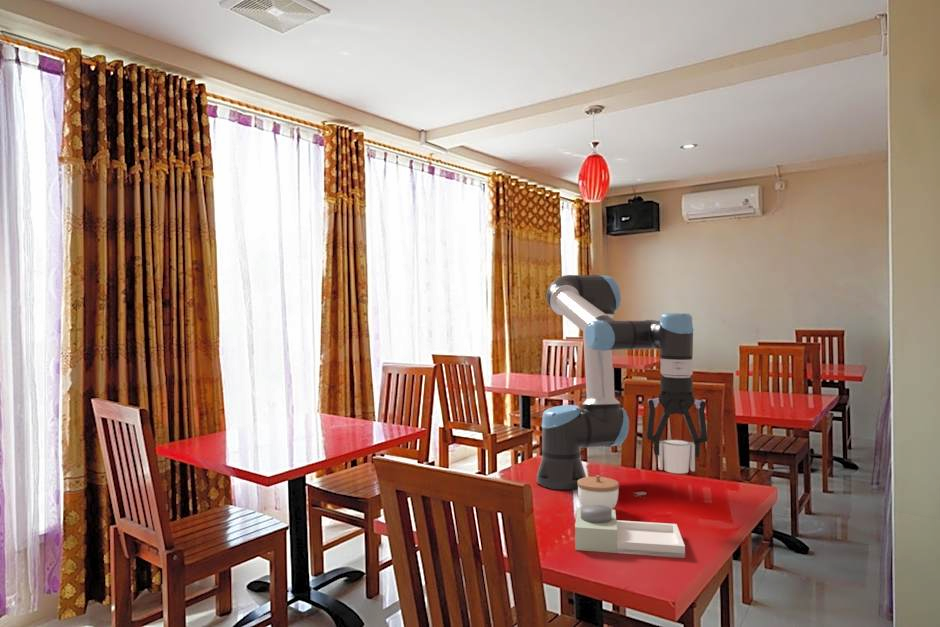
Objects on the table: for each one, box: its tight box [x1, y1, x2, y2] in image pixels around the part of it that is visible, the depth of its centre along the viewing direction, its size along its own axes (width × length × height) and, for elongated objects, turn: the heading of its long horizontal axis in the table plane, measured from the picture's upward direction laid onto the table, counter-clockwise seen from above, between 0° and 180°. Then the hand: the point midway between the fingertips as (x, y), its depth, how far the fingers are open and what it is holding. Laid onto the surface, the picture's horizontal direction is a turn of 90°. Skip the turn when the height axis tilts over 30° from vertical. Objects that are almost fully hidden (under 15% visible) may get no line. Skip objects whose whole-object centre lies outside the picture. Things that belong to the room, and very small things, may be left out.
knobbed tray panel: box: [574, 505, 686, 559], centre depth 139 cm, size 14×23×7 cm, turn 78°
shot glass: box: [661, 439, 691, 474], centre depth 150 cm, size 7×7×7 cm
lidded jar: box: [577, 474, 620, 510], centre depth 161 cm, size 11×11×9 cm
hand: (676, 468), depth 150 cm, fingers closed on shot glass, 7 cm apart
